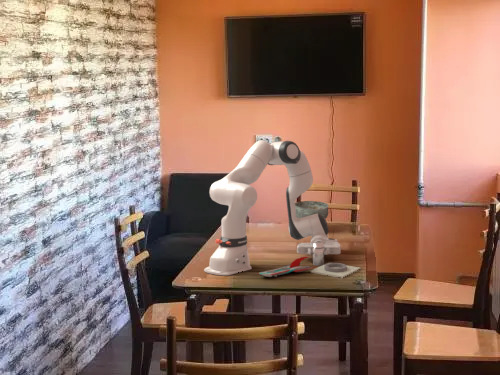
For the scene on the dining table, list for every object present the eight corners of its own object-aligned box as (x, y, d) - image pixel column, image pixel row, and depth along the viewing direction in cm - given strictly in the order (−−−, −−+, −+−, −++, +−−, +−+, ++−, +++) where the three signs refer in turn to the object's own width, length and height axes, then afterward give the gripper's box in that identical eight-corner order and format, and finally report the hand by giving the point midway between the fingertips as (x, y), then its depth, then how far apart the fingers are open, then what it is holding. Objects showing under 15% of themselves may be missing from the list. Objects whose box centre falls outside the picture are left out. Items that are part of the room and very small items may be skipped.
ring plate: (342, 278, 310) (342, 273, 310) (310, 272, 320) (310, 267, 319) (360, 269, 323) (360, 264, 322) (329, 264, 332) (329, 259, 332)
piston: (320, 266, 329) (320, 244, 327) (310, 264, 332) (310, 243, 330) (326, 263, 333) (326, 242, 331) (316, 262, 336) (316, 241, 334)
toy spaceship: (270, 285, 305) (268, 273, 304) (253, 281, 314) (251, 269, 313) (317, 268, 322) (315, 256, 321) (300, 264, 331) (298, 253, 330)
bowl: (319, 236, 386) (319, 208, 384) (287, 232, 396) (287, 205, 394) (335, 228, 403) (335, 202, 400) (304, 225, 413) (304, 199, 410)
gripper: (297, 238, 345) (295, 246, 331) (340, 239, 342) (340, 246, 329) (297, 251, 346) (295, 259, 332) (340, 252, 343) (340, 260, 330)
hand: (318, 253), depth 330 cm, fingers closed on piston, 5 cm apart
